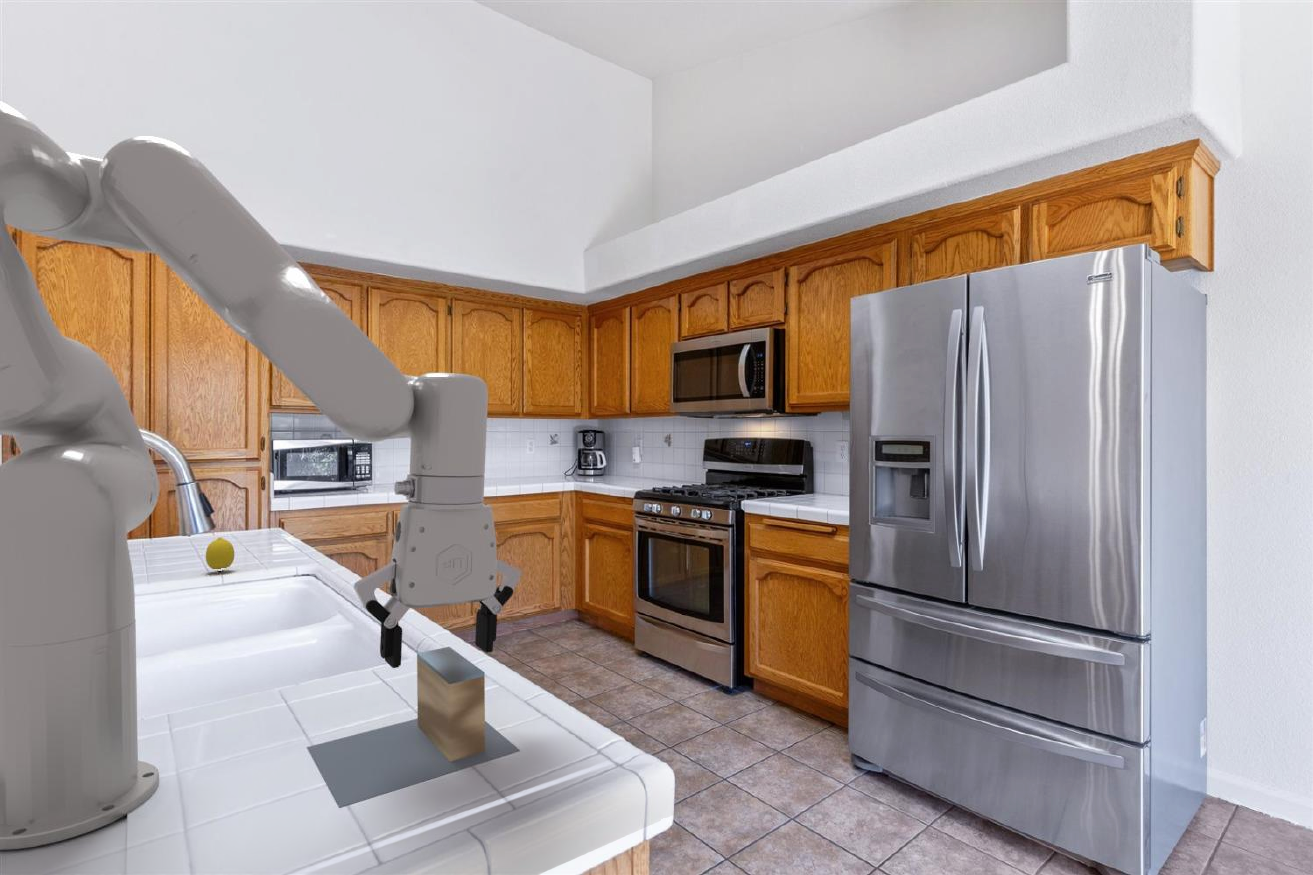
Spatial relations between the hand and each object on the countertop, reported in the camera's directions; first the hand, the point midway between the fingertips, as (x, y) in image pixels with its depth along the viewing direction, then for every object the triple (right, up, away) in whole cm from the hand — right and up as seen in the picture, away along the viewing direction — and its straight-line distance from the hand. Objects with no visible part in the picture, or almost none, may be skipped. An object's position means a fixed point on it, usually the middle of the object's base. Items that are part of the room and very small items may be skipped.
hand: (439, 656), depth 72 cm
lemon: (-77, -8, +85) cm, 115 cm away
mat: (-2, -9, -2) cm, 10 cm away
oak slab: (+1, -9, +1) cm, 9 cm away
